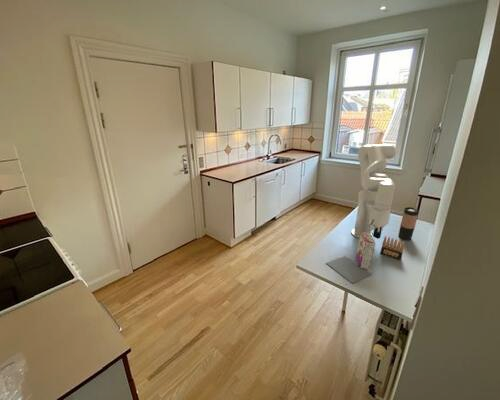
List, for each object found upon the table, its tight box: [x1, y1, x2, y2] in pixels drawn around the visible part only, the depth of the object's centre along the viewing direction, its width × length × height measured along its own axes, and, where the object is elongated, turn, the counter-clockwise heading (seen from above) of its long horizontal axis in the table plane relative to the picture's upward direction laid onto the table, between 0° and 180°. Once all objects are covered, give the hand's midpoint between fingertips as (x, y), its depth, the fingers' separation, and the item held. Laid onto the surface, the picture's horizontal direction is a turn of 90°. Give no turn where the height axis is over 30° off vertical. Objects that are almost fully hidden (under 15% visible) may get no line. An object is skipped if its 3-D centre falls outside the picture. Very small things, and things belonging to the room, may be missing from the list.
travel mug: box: [398, 207, 420, 241], centre depth 153 cm, size 8×8×20 cm
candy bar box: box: [355, 232, 376, 270], centre depth 129 cm, size 11×5×16 cm, turn 169°
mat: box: [326, 255, 373, 285], centre depth 128 cm, size 14×18×1 cm
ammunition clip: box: [379, 235, 405, 261], centre depth 136 cm, size 11×2×12 cm, turn 51°
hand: (376, 237), depth 130 cm, fingers closed
